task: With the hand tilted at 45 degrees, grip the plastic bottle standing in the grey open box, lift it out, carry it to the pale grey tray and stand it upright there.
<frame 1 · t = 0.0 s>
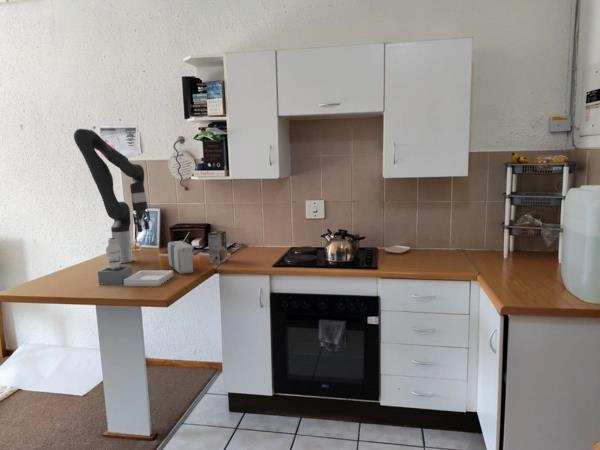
hand: (143, 230, 235), 17 cm above the worktop, tool pointing down, fingers open, 8 cm apart
coffee box: (218, 262, 231), on the worktop
tray: (149, 281, 196), on the worktop
grey open box: (116, 281, 197), on the worktop
plastic bottle: (116, 281, 197), resting in grey open box
stereo radio cassette player: (181, 270, 216), on the worktop
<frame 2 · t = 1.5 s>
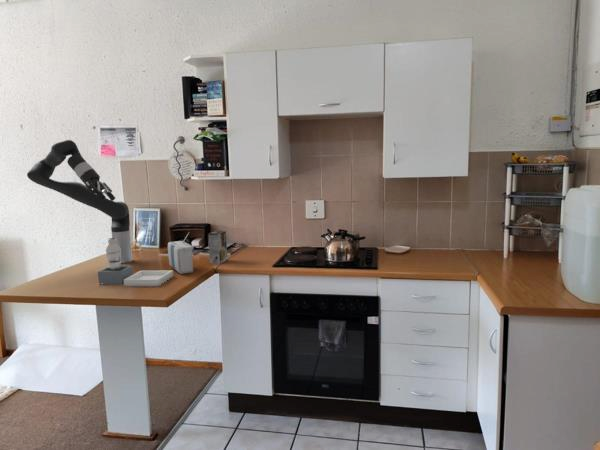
hand: (109, 199, 202), 37 cm above the worktop, tool tilted 40°, fingers open, 8 cm apart
nothing on the worktop moved.
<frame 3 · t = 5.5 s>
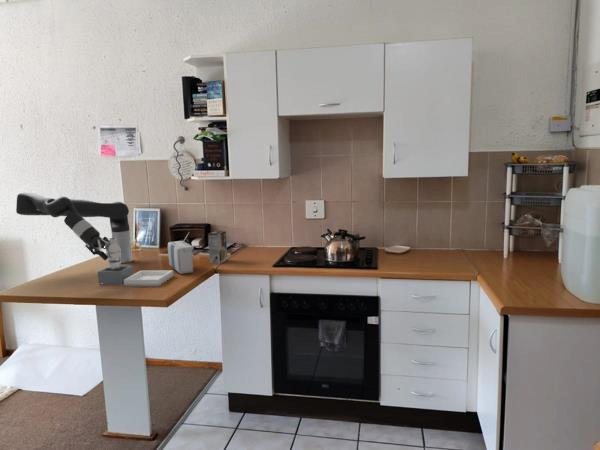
hand: (112, 256, 195), 12 cm above the worktop, tool tilted 45°, fingers open, 8 cm apart
nothing on the worktop moved.
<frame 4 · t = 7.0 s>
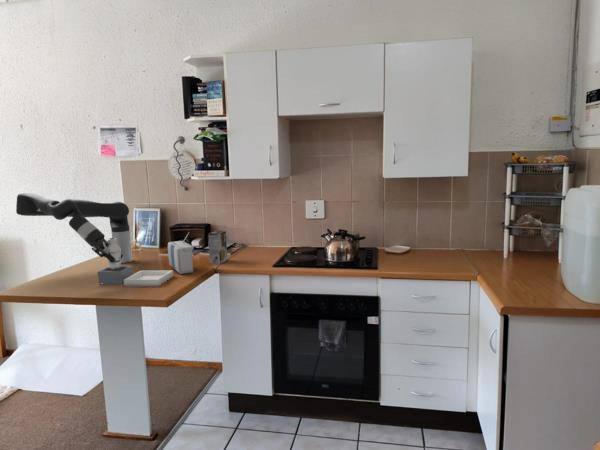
hand: (117, 259, 196), 10 cm above the worktop, tool tilted 45°, fingers closed on plastic bottle, 6 cm apart
plastic bottle: (116, 281, 197), resting in grey open box, touching gripper
everything else where it was.
when the fingers open (13 cm above the worktop, at t = 14.0 s): plastic bottle drops 1 cm, resting on tray.
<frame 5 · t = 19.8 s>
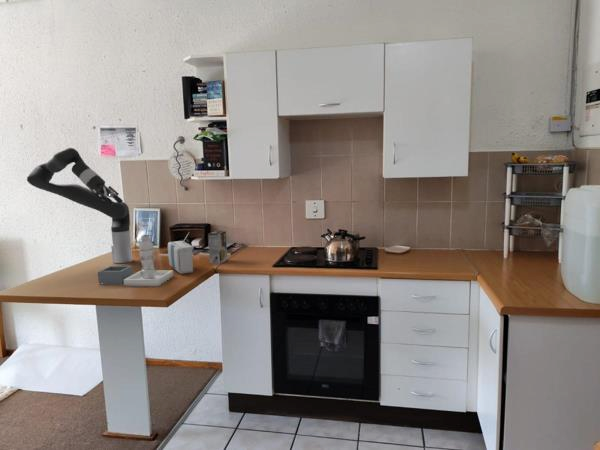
hand: (116, 203, 208), 35 cm above the worktop, tool tilted 45°, fingers open, 8 cm apart
plastic bottle: (149, 279, 196), point 1 cm above the worktop, touching tray
everything else where it was.
at the end: plastic bottle inside the target area on the tray (0.4 cm from its centre), point 0.8 cm above the tray's base; plastic bottle tilted 0°; the gripper is holding nothing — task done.
